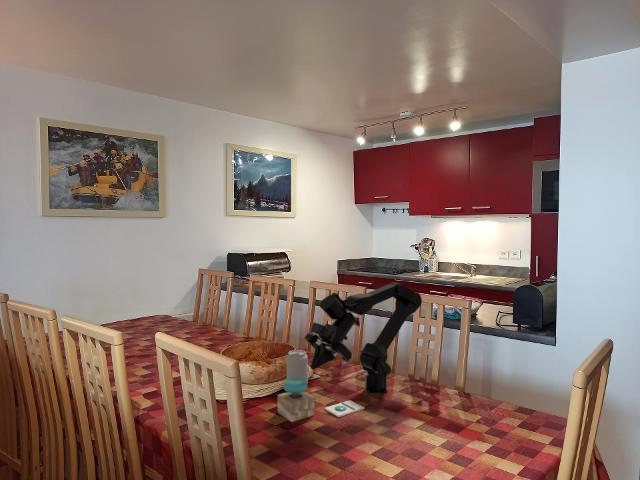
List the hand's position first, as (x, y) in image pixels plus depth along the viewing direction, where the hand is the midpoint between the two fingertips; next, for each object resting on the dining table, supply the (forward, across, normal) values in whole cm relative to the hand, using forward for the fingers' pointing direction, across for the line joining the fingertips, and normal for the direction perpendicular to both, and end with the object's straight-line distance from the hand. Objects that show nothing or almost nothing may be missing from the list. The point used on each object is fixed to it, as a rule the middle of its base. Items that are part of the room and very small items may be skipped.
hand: (311, 368), depth 141 cm
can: (+4, -20, +14) cm, 25 cm away
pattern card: (+3, +6, +15) cm, 16 cm away
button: (+10, 0, +1) cm, 10 cm away
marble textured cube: (+13, 0, +5) cm, 14 cm away
